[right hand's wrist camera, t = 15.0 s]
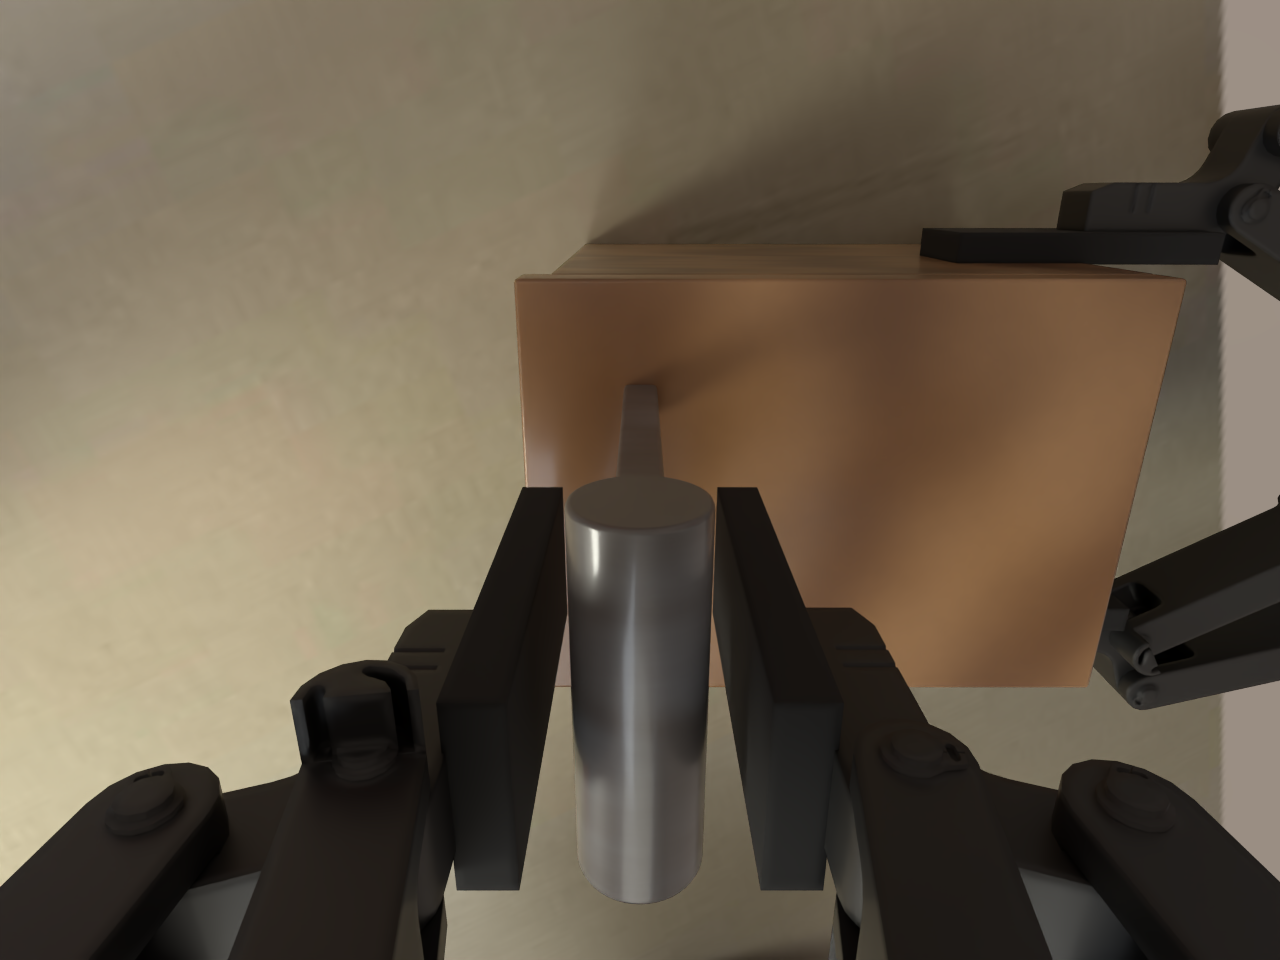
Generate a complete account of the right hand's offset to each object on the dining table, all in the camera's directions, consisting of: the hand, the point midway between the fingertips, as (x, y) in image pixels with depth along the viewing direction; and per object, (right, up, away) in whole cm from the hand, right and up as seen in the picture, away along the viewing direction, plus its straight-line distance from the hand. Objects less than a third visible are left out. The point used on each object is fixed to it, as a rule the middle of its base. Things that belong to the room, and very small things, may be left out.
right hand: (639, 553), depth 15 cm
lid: (+4, +1, +3) cm, 6 cm away
